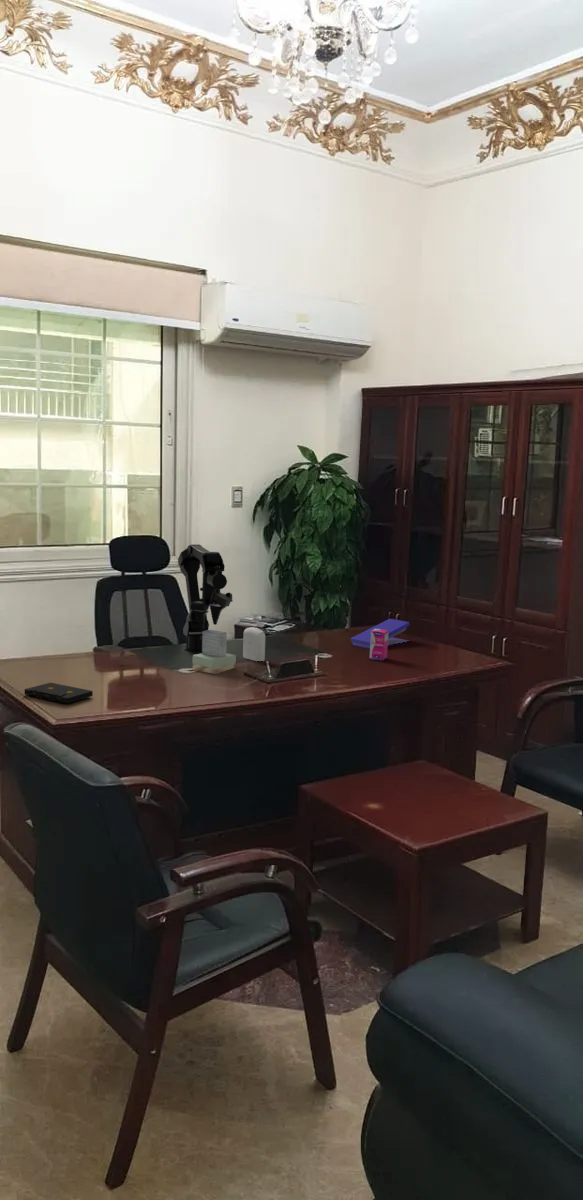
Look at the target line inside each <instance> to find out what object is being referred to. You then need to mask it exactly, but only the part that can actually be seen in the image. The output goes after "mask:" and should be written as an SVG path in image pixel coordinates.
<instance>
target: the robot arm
mask: <svg viewBox="0 0 583 1200" xmlns="http://www.w3.org/2000/svg"><path fill="white" fill-rule="evenodd" d="M177 558H178V559H177V562H178V563H177V564H178V566H179V570H180V572H181V573H182V575H183V576H184V577H185V585H186V592H187V601H188V610H189V612H188V614H187V616H186V621H185V624H184V626H183V629H182V631H183V632H182V634H183V635H184V636H185V637H186V638H185V639H186V640H185V641H186V642H185V643H186V645H185V648H184V649H183V651H186V652H187V651H188V652H193V653H194V652H195V653H200V652H202V637H203V631H206V630H209V627H210V623H209V620H208V618H207V617H208V616H207V615H208V613H209V610H210V613H211V614H210V615H211V619H212V623H213V625H214V626H216V625H218V621H219V619H220V616H221V613H222V611H223V610H224V609H226V608H227V607H229V606H230V604H231V603H232V602H234V601H233V593H231V592H226V593H222V592H221V590H222V589H224V588H225V587H226V586H227V583H228V580H227V577H226V576H225V575H224V574H223V572H225V567H226V566H225V564H224V560H223V557H222V555H221V553H220V552H218V551H210V550H208V549H206V548H205V547H203V546H202V545H201V544H189V545H188V546H187V547H186V548H185V549H184V550H183V551H181V552H180V553H179V556H178V557H177ZM200 569H202V570H201V571H202V587H199V581H198V580H199V579H198V573H199V571H200ZM200 592H201V595H202V596H200Z"/></svg>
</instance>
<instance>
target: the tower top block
mask: <svg viewBox="0 0 583 1200" xmlns="http://www.w3.org/2000/svg"><path fill="white" fill-rule="evenodd" d="M236 658H237V655H236V654H232V653H227V652H226V656H222V657H216V656H210V655H203V654H202V653H197V654H193V655H192V661H191V662H192V665H193V664H198V665H202V666H206V667H210V668H215V667H220V666H225V665H230V664H234V665H235V664H237V663H236V662H237V661H236V660H237V659H236Z"/></svg>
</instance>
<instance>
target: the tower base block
mask: <svg viewBox="0 0 583 1200" xmlns="http://www.w3.org/2000/svg"><path fill="white" fill-rule="evenodd" d="M234 667H235V664H230V665H225V666H220V667H215V668H210V667H206V666H202V665H198V664H193V663H192V671H195V672H196V671H197V672H201V673H209V674H214V675H216V674H220V673H222V672H226V671H229V670H232V669H235V668H234Z"/></svg>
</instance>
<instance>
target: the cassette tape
mask: <svg viewBox="0 0 583 1200" xmlns="http://www.w3.org/2000/svg"><path fill="white" fill-rule="evenodd" d="M24 695H26V696H30V697H33V698H36V699H39V700H40V699H41V700H45V701H50V702H56V703H57V702H58V703H59V704H60V703H63V704H69V703H73V702H76V701H77V702H78V701H79V700H83V699H87V698H90V697H93V695H94V694H93V690H91V689H85V688H81V687H80V688H79V687H75V686H74V687H73V686H69V685H65V684H59V683H53V682H47V683H43V684H39V685H36V686H32V687H29V688H28V687H27V688H25V689H24Z"/></svg>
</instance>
